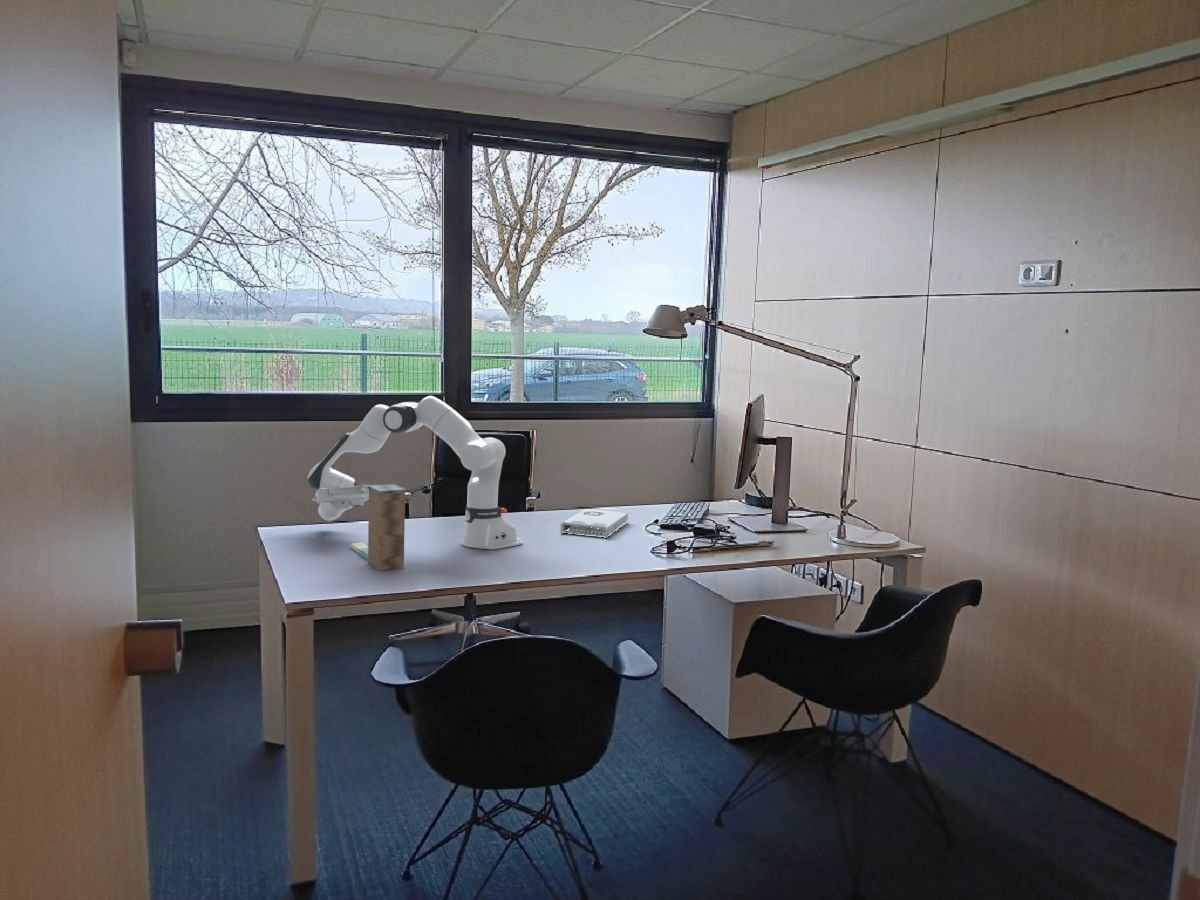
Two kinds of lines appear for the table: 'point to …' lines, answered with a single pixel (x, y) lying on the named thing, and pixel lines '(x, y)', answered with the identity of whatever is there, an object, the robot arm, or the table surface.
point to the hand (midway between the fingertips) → (350, 486)
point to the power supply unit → (594, 522)
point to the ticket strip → (360, 549)
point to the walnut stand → (386, 526)
